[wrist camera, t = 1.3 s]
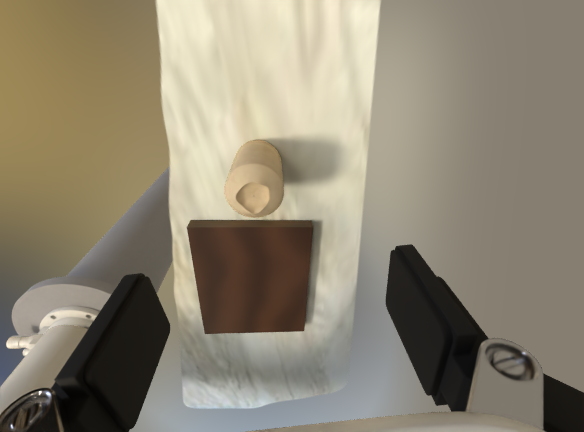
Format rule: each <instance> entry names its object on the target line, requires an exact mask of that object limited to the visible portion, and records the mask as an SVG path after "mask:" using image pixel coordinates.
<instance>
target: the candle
mask: <svg viewBox="0 0 584 432" xmlns="http://www.w3.org/2000/svg"><path fill="white" fill-rule="evenodd" d="M225 196H226V199H227V201H228V203H229V205H230V206H231V207H232V208H233V209H234V210H235V211H236V212H238V213H239V214H242V215H244V216H247V217H254V218H255V217H263V216H266V215H269V214H271V213H272V212H274V211H275V210H276V209H277V208H278V207H279V205H280V204H281V202H282V200H283V196H284V186H283V175H282V164H281V158H280V155H279V153H278V151H277V150H276V149H275V147H274V146H272V145H271V144H270V143H268V142H265V141H262V140H253V141H249V142H247V143H245V144H244V145H242V146H241V147H240V148H239V150H238V151H237V153H236V155H235V158H234V161H233V164H232V166H231V169H230V172H229V174H228V177H227V180H226V183H225Z"/></svg>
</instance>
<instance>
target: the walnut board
mask: <svg viewBox="0 0 584 432" xmlns="http://www.w3.org/2000/svg"><path fill="white" fill-rule="evenodd" d="M187 230H188V236H189V242H190V248H191V254H192V260H193V266H194V272H195V278H196V284H197V290H198V296H199V302H200V308H201V314H202V320H203V326H204V332H205V334H218V333H254V332H291V331H304V327H305V316H306V304H307V292H308V281H309V269H310V258H311V246H312V235H313V225H312V221H295V220H191V221H190V222H189V224H188V226H187Z"/></svg>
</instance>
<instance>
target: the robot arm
mask: <svg viewBox="0 0 584 432" xmlns="http://www.w3.org/2000/svg"><path fill="white" fill-rule="evenodd" d="M386 307H387V310H388V312H389V314H390V316H391V319H392V320H393V323H394V325H395V327H396V330H397V332H398V334H399V336H400V338H401V341H402V343H403V345H404V347H405V349H406V352H407V354H408V356H409V358H410V360H411V363H412V365H413V367H414V369H415V371H416V374H417V376H418V378H419V380H420V383H421V384H422V387H423V389H424V391H425V393H426V394H427V395H432V397H433V400H434V401H435V404H436V405H437V406H438V405H447V404H448V406H449V408H450V410H451V412H431V413H420V414H408V415H397V416H385V417H376V418H367V419H357V420H347V421H338V422H329V423H319V424H311V425H301V426H293V427H283V428H274V429H265V430H256V431H247V432H584V393H583V392H581V391H579V390H577V389H575V388H573V387H571V386H568V385H566V384H564V383H562V382H560V381H558V380H556V379H554V378H552V377H550V376H547V375H545V374H543V371H542V367H541V366H540V364H539V362H538V361H537V359H536V358H535V357H534V356H533V355H532V354H531V353H530V352H529V351H527V350H526V349H524V348H523V347H522V346H520V345H518V344H516V343H514V342H512V341H509V340H505V339H500V338H491V339H488V337H487V336H486V335H485V333H484V332H483V331H482V329H481V328H480V327H479V325H478V324H477V323H476V322H475V320H474V319H473V318H472V316H471V315H470V314H469V312H468V311H467V310H466V308H465V307H464V306H463V305H462V303H461V302H460V301H459V299H458V298H457V297H456V295H455V294H454V293H453V291H452V290H451V289H450V287H449V286H448V285H447V284H446V282H445V281H444V280H443V279H442V278H441V277H436V275H435V274H434V273H433V271H432V270H431V269H430V267H429V266H428V265H427V264H426V262H425V261H424V259H423V258H422V257H421V255H420V254H419V253H418V251H417V250H416V249H415V247H414V246H413V245H402V246H396V248H395V250H392V251H391V255H390V264H389V274H388V284H387V293H386ZM39 329H40V331H39V332H38V333H34V334H32V335H31V336H26V335H21V336H11V337H10V338H9V339H8V341H7V345H6V346H7V348H11V349H12V348H23V347H26V348H25V349H24V351H23V356H25V358H24V359H23V360H22V361H21V363H20V364H19V365H18V366H17V367H16V369H15V370H14V371H13V372H12V373H11V375H10V376H9V377H8V378H7V380H6V381H5V382H4V383H3V384H2V386H1V387H0V432H129V430H130V429H132V428H133V427H134V426H135V424H136V422H137V419H138V417H139V414H140V411H141V409H142V406H143V403H144V400H145V398H146V395H147V392H148V389H149V387H150V384H151V381H152V379H153V376H154V373H155V371H156V368H157V366H158V363H159V360H160V357H161V354H162V352H163V349H164V347H165V344H166V341H167V339H168V336H169V333H170V323H169V321H168V319H167V317H166V314H165V312H164V310H163V308H162V305H161V303H160V301H159V298H158V296H157V294H156V292H155V289H154V287H153V285H152V283H151V280H150V279H149V277H145V275H144V274H141V273H140V274H131V275H126V276H124V277H123V279H122V280H121V282H120V283H119V284H118V286H117V287H116V289H115V290H114V292H113V293H112V295H111V296H110V298H109V299H108V301H107V302H106V304H105V305H104V307H103V308H102V310H101V311H100V312H99V311H97V310H94V309H90V308H86V307H80V306H67V307H61V308H57V309H55V310H52V311H51V312H49V313H48V314H47V315H46V316H45V317H44V318H43V320H42V321H41V323H40V328H39Z"/></svg>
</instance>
